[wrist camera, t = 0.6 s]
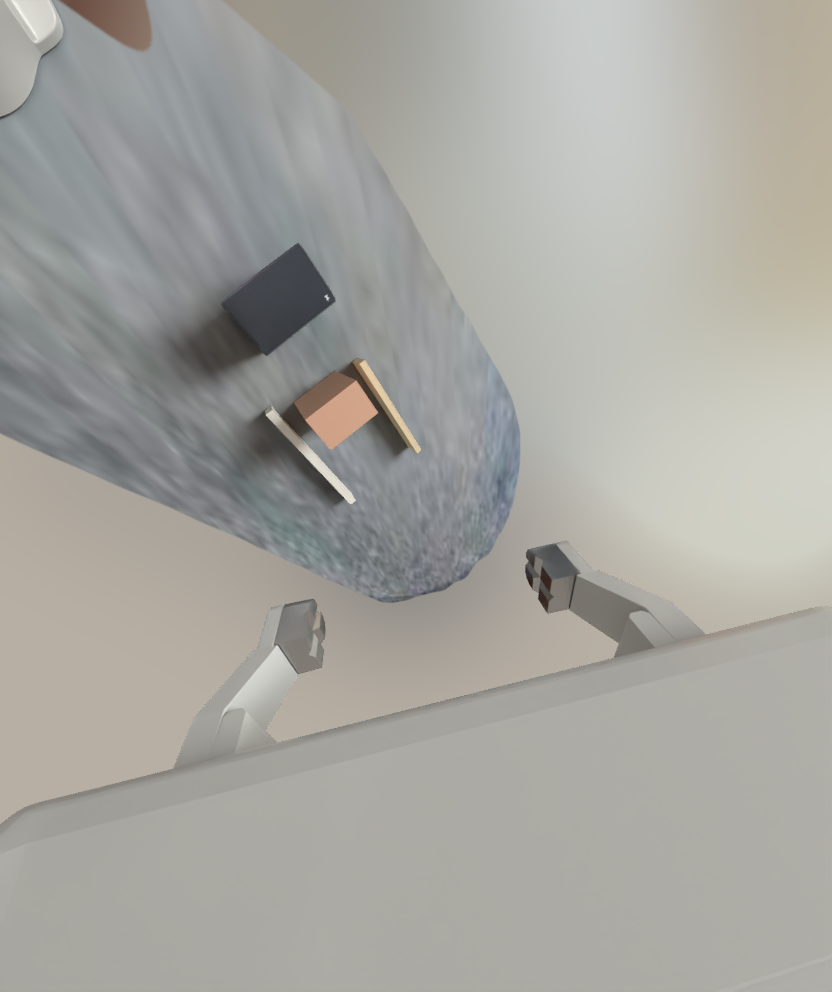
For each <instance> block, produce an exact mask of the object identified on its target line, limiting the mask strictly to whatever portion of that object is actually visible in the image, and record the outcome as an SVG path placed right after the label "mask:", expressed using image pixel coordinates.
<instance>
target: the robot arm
mask: <svg viewBox="0 0 832 992" xmlns="http://www.w3.org/2000/svg"><path fill="white" fill-rule="evenodd" d="M62 36H63V26H62V22H61V20H60V17H59V15H58V13H57V11H56V9H55V7H54V5H53V3H52V1H51V0H0V117H1V116H4V115H7V114H9V113H11V112H13V111H14V110H16V109H17V108H18V107H19V106H21V105H22V104H23V103H24V101H25V100H26V99H27V97H28V96H29V94H30V92H31V90H32V87H33V84H34V81H35V76H36V71H37V67H38V63H39V60H40V58H41V56H42V55H43V54H45V53H46V52H48V51H49V50H50V49H52V48H53V47H54V46H55V45H56V44H57V43H58V42H59V41H60V40H61V38H62ZM526 558H527V559H528V561H529V562H528V563H527V564H526V565H525V566H526V567H525V573H526V577H527V580H528V582H529V584H530V586H531V588H532V589H533V590H534V591H536V592H538V593H539V596H538V599H539V601H540V603H541V604H542V606H543V608H544V609H545V611H546V612H547V613H553V612H557V611H562V610H567V609H570V611H572V612H573V613H575V614H576V615H578V616H579V617H581V618H582V619H584V620H585V621H587V622H588V623H589V624H591V625H592V626H594V627H596V628H597V629H598V630H600V631H601V632H603V633H604V634H606V635H607V636H609V637H610V638H612V639H613V640H615V641H616V642H618V643H619V645H618V647H617V650H616V653H615V656H614V658H612V659H608V660H604V661H600V662H596V663H592V664H588V665H584V666H580V667H576V668H572V669H568V670H565V671H560V672H556V673H552V674H548V675H544V676H540V677H536V678H533V679H529V680H524V681H520V682H516V683H512V684H508V685H504V686H501V687H497V688H493V689H488V690H484V691H480V692H477V693H473V694H469V695H465V696H461V697H457V698H453V699H449V700H445V701H441V702H437V703H433V704H429V705H425V706H421V707H417V708H413V709H409V710H405V711H401V712H397V713H393V714H390V715H386V716H382V717H377V718H373V719H370V720H366V721H362V722H358V723H354V724H350V725H346V726H342V727H338V728H334V729H330V730H326V731H322V732H318V733H314V734H310V735H306V736H302V737H298V738H294V739H291V740H286V741H282V742H278V743H277V742H276V741H275V740H274V739H273V738H272V737H271V736H270V735H269V734H268V733H267V732H266V729H267V727H268V725H269V724H270V722H271V721H272V719H273V717H274V716H275V714H276V712H277V711H278V709H279V707H280V705H281V704H282V702H283V700H284V699H285V697H286V695H287V694H288V692H289V690H290V689H291V687H292V685H293V684H294V682H295V680H296V679H297V677H298V674H300V673H304V672H308V671H312V670H315V669H319V668H322V662H323V653H324V649H323V647H322V646H321V643H322V642H323V640H324V639H325V631H326V630H325V621H324V618H323V615H322V613H321V612H319V611H317V603H316V602H315V600H314V599H309V600H304V601H299V602H294V603H290V604H285V605H281V606H276V607H272V608H271V609H270V610H269V611H268V614H267V617H266V621H265V625H264V628H263V631H262V634H261V638H260V641H259V645H258V648H257V650H254V651H252V652H251V653H250V655H249V656H248V657H247V658H246V659H245V660H244V661H243V663H242V664H241V665H240V666H239V667H238V668H237V669H236V670H235V672H234V673H233V674H232V675H231V676H230V677H229V679H228V680H227V681H226V682H225V683H224V684H223V685H222V687H220V689H219V690H218V691H217V692H216V693H215V694H214V696H213V697H212V698H211V699H210V700H209V701H208V702H207V704H206V705H205V706H204V707H203V708H202V709H201V710H200V711H199V713H198V714H197V715H196V716H195V717H194V718H193V721H192V723H191V726H190V728H189V731H188V733H187V736H186V738H185V741H184V743H183V746H182V748H181V751H180V753H179V756H178V758H177V761H176V763H175V766H174V768H173V769H171V770H167V771H163V772H159V773H155V774H151V775H147V776H143V777H139V778H135V779H131V780H127V781H123V782H119V783H115V784H111V785H107V786H103V787H99V788H95V789H91V790H87V791H83V792H79V793H75V794H71V795H67V796H63V797H59V798H55V799H51V800H46V801H42V802H39V803H35V804H32V805H30V806H27V807H25V808H23V809H21V810H19V811H17V812H16V813H15V814H13V815H12V816H10V817H9V818H8V819H7V820H5V821H4V822H3V823H2V824H0V992H832V607H815V608H810V609H806V610H802V611H798V612H794V613H790V614H787V615H782V616H778V617H774V618H770V619H766V620H762V621H759V622H754V623H751V624H746V625H743V626H739V627H735V628H731V629H727V630H723V631H719V632H715V633H711V634H707V635H706V634H705V633H704V632H703V631H702V630H701V629H700V628H699V627H697V625H696V624H694V623H693V622H692V621H691V620H690V619H689V618H688V617H687V616H686V615H685V614H684V613H683V612H682V611H681V610H680V609H679V608H678V607H677V606H675V604H674V603H672V602H670V601H668V600H666V599H664V598H661V597H659V596H657V595H655V594H652V593H650V592H648V591H646V590H643V589H641V588H639V587H636V586H634V585H632V584H630V583H627V582H625V581H623V580H621V579H618V578H616V577H614V576H611V575H609V574H607V573H605V572H602V571H600V570H594V569H593V568H592V567H591V566H590V565H589V564H588V563H587V562H586V560H585V559H584V558H583V557H582V556H581V555H580V554H579V553H578V552H577V550H576V549H575V548H574V547H573V546H572V545H571V544H570V543H569V542H568V541H562V542H558V543H554V544H549V545H545V546H540V547H536V548H532V549H528V550H527V552H526Z"/></svg>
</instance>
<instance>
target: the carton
mask: <svg viewBox="0 0 832 992" xmlns="http://www.w3.org/2000/svg"><path fill="white" fill-rule="evenodd" d="M294 404H295V405H296V407H297V408H298V410H299V411H300V413H301V415H302V416H303V418H304V419H305V421H306V422H307V423H308V424H309V425H310V426H311V427H312V429H313V430H314V431H315V432H316V433H317V434H318V436H319V437H320V438H321V439H322V440H323V441H324V442H325V444H326V445H327V446H328V447H329V448H330V449H331V450H332V449H333V448H334V447H336V446H337V445H338V444H340V443H341V442H342V441H343V440H345V439H346V438H347V437H348V436H350V435H351V434H352V433H353V432H355V431H356V430H357V429H359V428H360V427H361V426H362V425H364V424H365V423H366V422H367V421H369V420H370V419H371V418H372V417H374V416H375V415H376V414H377V413H378V412H377V410H376V409H375V407H374V406H373V404H372V403H371V401H370V400H369V398H368V397H367V395H366V394H365V392H364V391H363V390H362V388H361V387H360V385H359V384H358V382H357V381H356V380H354V379H352V378H350V377H348V376H345V375H343V374H341V373H339V372H336V371H334V372H333V373H331V374H330V375H329V376H327V377H326V378H325V379H323V380H322V381H321V382H320V383H318V384H317V385H316V386H314V387H313V388H312V389H310V390H309V391H308V392H306V393H305V394H304V395H303V396H301V397H300V398H299V399H297V400H296V401H295V402H294Z"/></svg>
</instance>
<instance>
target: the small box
mask: <svg viewBox="0 0 832 992" xmlns="http://www.w3.org/2000/svg"><path fill="white" fill-rule="evenodd" d="M334 302H336V297H335V296H334V294H333V293H332V291H331V290H330V288H329V287H328V285H327V284H326V282H325V280H324V279H323V277H322V276H321V274H320V273H319V271H318V270H317V268H316V267H315V265H314V264H313V262H312V260H311V259H310V258H309V256H308V254H307V253H306V251H305V250H304V248H303V247H302V245H301V244H300V243H297V244H296V245H294V246H293V247H292V248H290V249H289V250H288V251H286V252H285V253H284V254H282V255H281V256H280V257H278V258H277V259H276V260H274V261H273V262H272V263H270V264H269V265H268V266H266V267H265V268H264V269H262V270H261V271H260V272H258V273H257V274H256V275H255V276H253V277H252V278H251V279H250V280H248V281H247V282H246V283H245V284H243V285H242V286H241V287H240V288H238V289H237V290H236V291H235V292H233V293H232V294H231V295H229V296H228V297H227V298H226V299H225V300H224V301H222V302H221V304H222V306H223V307H224V308H225V310H226V311H227V312H228V313H229V314H230V316H231V317H232V318H233V319H234V320H235V321H236V323H237V324H238V325H239V326H240V327H241V328H242V329H243V330H244V332H245V333H246V334H247V335H248V336H249V337H250V338H251V340H252V341H253V342H254V343H255V344H256V345H257V346H258V347H259V349H260V350H261V351H262V352H263V353H264V354H265V355H266V356H268V355H269V354H270V353H272V352H273V351H274V350H275V349H277V348H278V347H279V346H280V345H282V344H283V343H284V342H285V341H287V340H288V339H289V338H291V337H292V336H293V335H294V334H296V333H297V332H298V331H299V330H301V329H302V328H303V327H304V326H306V325H307V324H308V323H309V322H310V321H312V320H313V319H314V318H316V317H317V316H318V315H320V314H321V313H322V312H323V311H324V310H326V309H327V308H328V307H329V306H331V305H332V304H333V303H334Z"/></svg>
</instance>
